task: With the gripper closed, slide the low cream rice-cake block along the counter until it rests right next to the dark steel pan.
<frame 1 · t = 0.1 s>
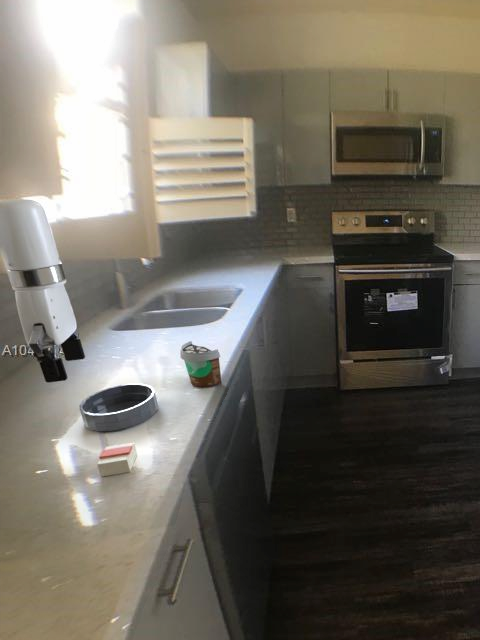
hand: (66, 369, 83), 19 cm above the worktop, tool pointing down, fingers open, 9 cm apart
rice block: (119, 465, 88), on the worktop
pan: (122, 415, 106), on the worktop
food container: (200, 384, 120), on the worktop
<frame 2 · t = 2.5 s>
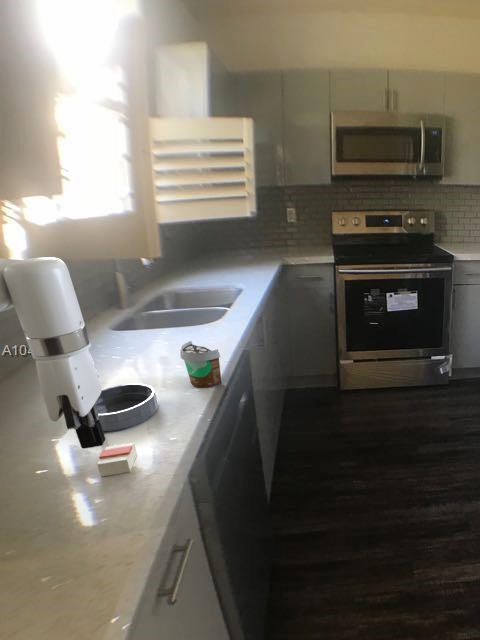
hand: (94, 444, 76), 10 cm above the worktop, tool pointing down, fingers closed
nothing on the worktop moved.
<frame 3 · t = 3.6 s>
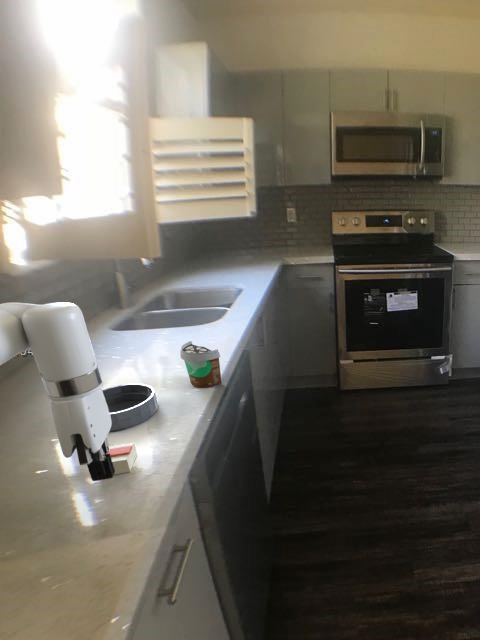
hand: (104, 476, 79), 3 cm above the worktop, tool pointing down, fingers closed
nothing on the worktop moved.
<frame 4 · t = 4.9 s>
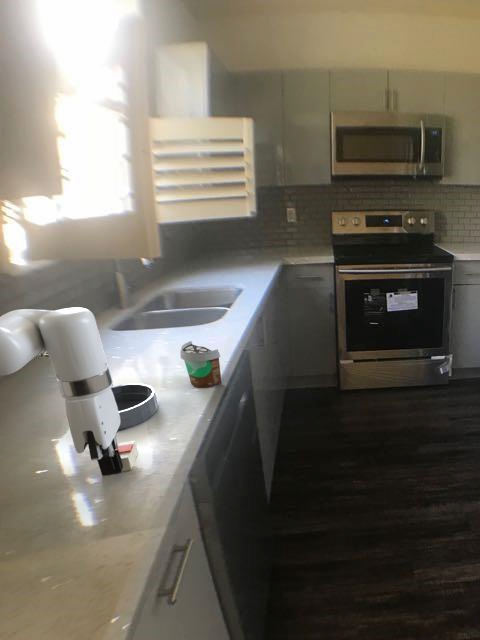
hand: (113, 471, 84), 1 cm above the worktop, tool pointing down, fingers closed
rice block: (120, 463, 88), on the worktop, touching gripper
everything else where it was.
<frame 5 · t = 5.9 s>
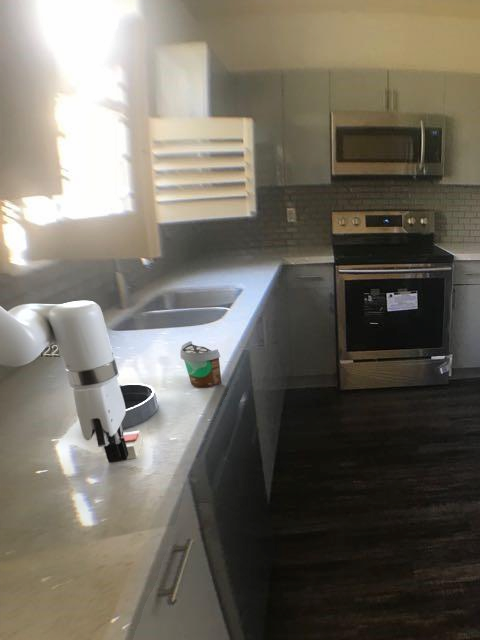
hand: (118, 458, 87), 1 cm above the worktop, tool pointing down, fingers closed
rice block: (126, 451, 92), on the worktop, touching gripper
everything else where it was.
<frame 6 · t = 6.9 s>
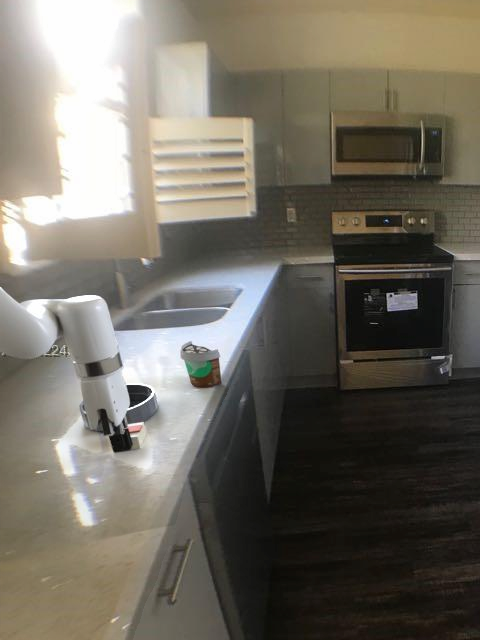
hand: (123, 448, 90), 1 cm above the worktop, tool pointing down, fingers closed
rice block: (130, 442, 95), on the worktop, touching gripper
everything else where it was.
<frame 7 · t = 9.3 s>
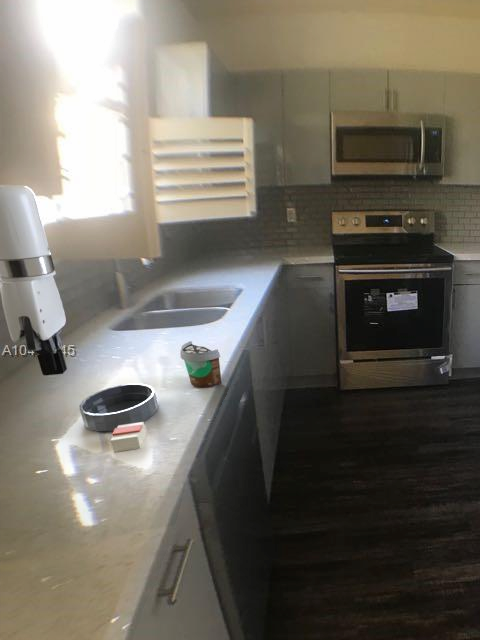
hand: (55, 372, 79), 20 cm above the worktop, tool pointing down, fingers closed
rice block: (130, 442, 95), on the worktop
everything else where it was.
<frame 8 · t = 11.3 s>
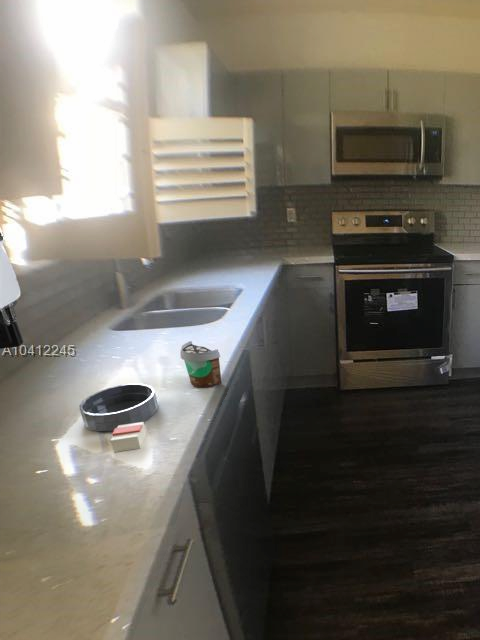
hand: (11, 345, 78), 25 cm above the worktop, tool pointing down, fingers closed
nothing on the worktop moved.
at the end: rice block 13.6 cm from the pan (horizontally); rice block inside the target area (0.4 cm from its centre), on the worktop; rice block tilted 0° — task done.
